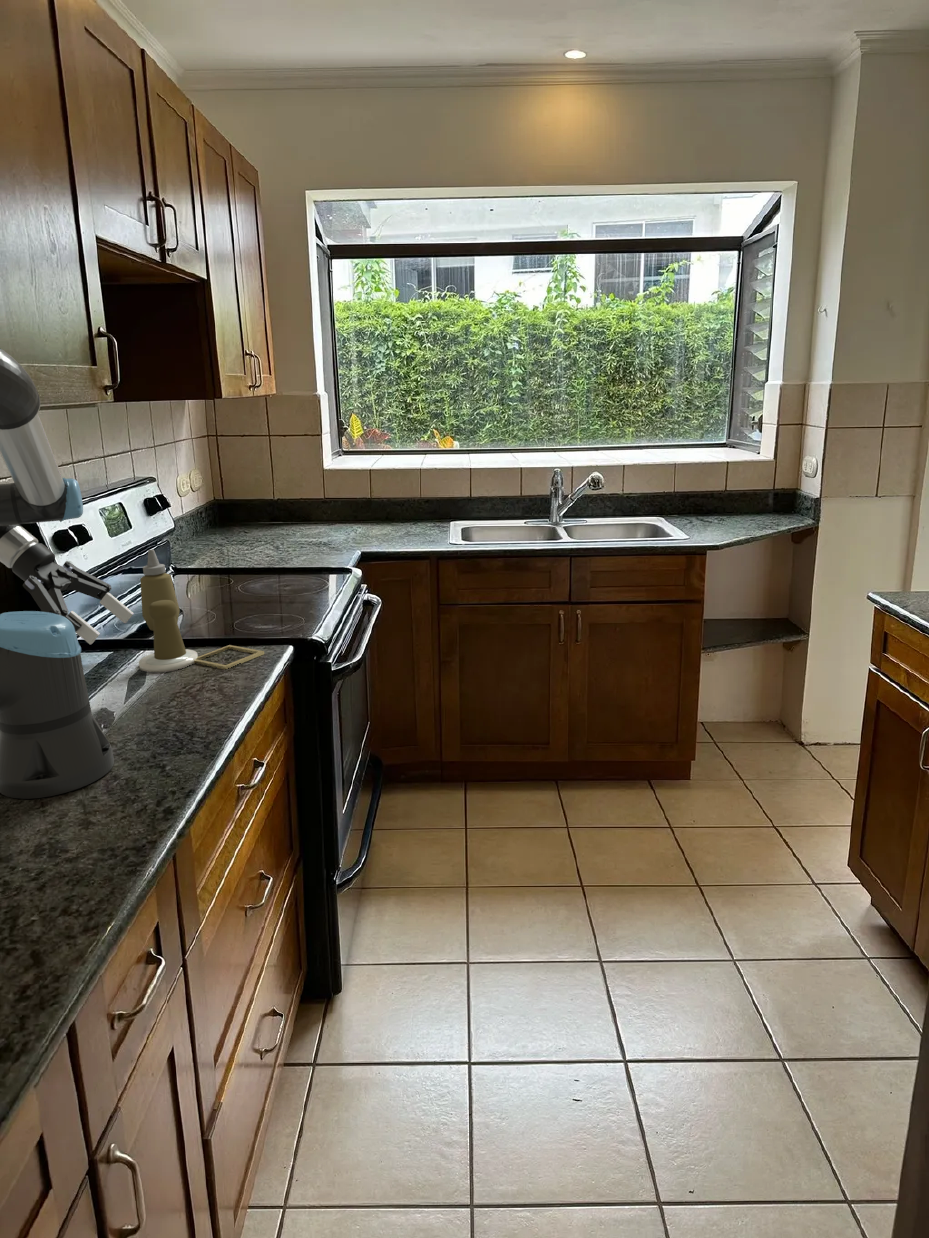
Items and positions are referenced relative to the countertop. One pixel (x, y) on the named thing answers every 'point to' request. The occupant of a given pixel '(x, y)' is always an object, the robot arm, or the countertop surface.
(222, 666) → the square frame
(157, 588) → the squeeze bottle
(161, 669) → the saucer
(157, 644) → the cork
